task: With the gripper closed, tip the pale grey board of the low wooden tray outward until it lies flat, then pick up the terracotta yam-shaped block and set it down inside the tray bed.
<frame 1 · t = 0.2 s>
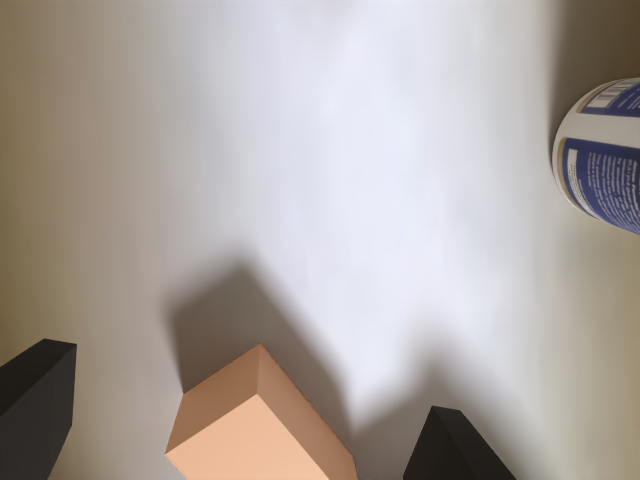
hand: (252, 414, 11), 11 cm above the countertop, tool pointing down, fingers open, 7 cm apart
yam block: (271, 424, 23), on the countertop
pill bottle: (611, 149, 21), on the countertop
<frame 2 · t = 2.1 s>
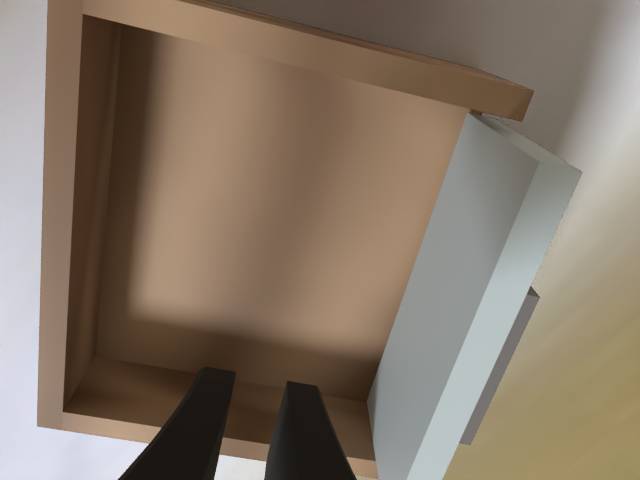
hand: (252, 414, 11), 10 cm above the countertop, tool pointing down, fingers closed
wooden tray: (263, 222, 20), on the countertop
pale grey board: (452, 322, 16), point 5 cm above the countertop, hinge at 0.0°
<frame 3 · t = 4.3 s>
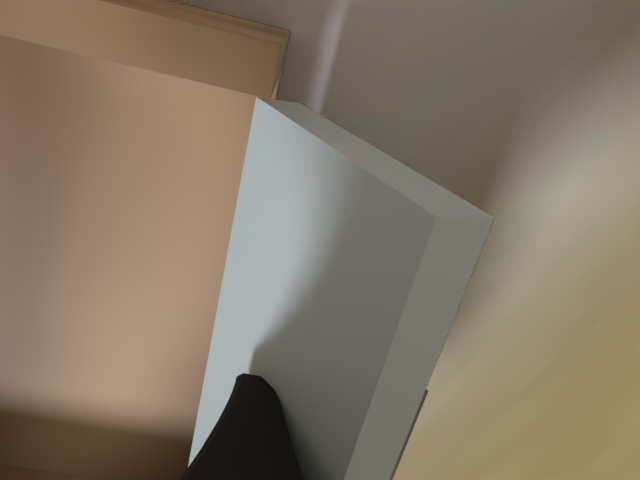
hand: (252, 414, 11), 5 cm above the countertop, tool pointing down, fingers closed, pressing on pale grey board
wooden tray: (14, 249, 14), on the countertop
pale grey board: (290, 414, 11), point 4 cm above the countertop, hinge at 27.8°, touching gripper
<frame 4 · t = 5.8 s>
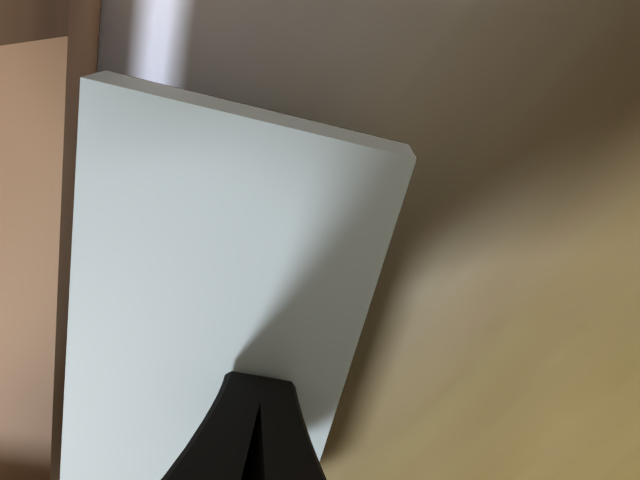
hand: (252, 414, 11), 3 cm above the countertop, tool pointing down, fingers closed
pale grey board: (209, 372, 11), point 2 cm above the countertop, hinge at 87.3°
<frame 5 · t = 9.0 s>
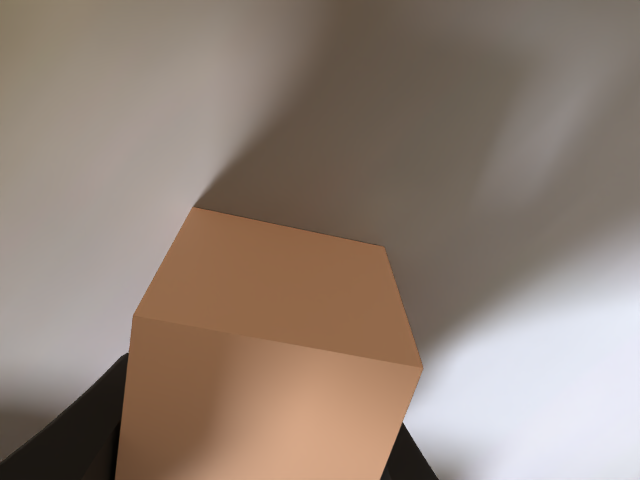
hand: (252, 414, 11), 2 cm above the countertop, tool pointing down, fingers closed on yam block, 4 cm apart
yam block: (258, 363, 12), on the countertop, touching gripper
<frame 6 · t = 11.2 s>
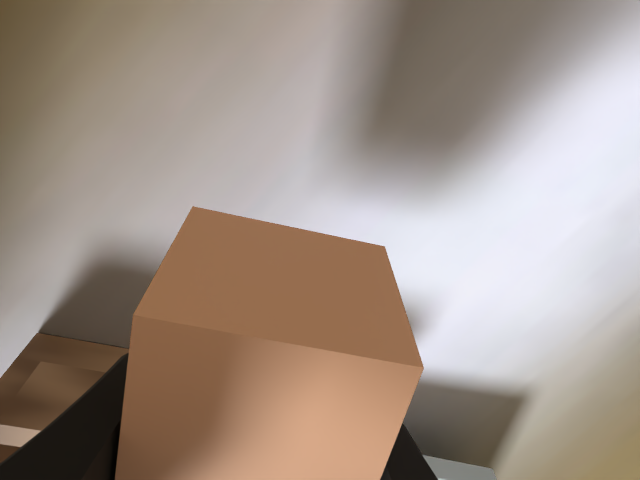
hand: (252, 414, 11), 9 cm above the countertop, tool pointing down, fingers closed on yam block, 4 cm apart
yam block: (258, 363, 12), point 7 cm above the countertop, touching gripper
when the fingers open (5 cm above the countertop, at t = 13.5 s): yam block drops 1 cm, resting on wooden tray.
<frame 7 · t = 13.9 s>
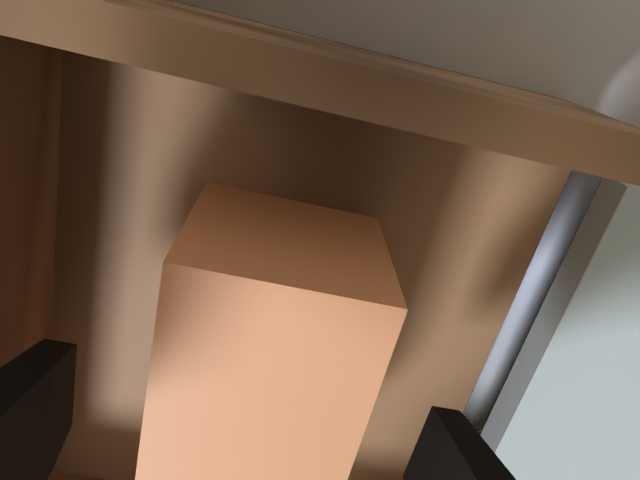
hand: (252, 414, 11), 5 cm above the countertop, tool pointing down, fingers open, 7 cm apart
wooden tray: (267, 297, 15), on the countertop
pale grey board: (607, 400, 14), point 2 cm above the countertop, hinge at 87.5°
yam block: (264, 326, 13), point 1 cm above the countertop, touching wooden tray
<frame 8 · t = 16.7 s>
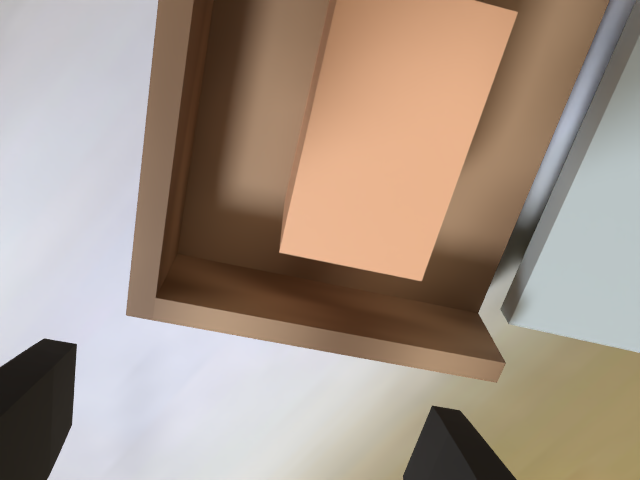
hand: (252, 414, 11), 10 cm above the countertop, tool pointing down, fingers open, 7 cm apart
wooden tray: (363, 105, 18), on the countertop
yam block: (369, 111, 17), point 1 cm above the countertop, touching wooden tray
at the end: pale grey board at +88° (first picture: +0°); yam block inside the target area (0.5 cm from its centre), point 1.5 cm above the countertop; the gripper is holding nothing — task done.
